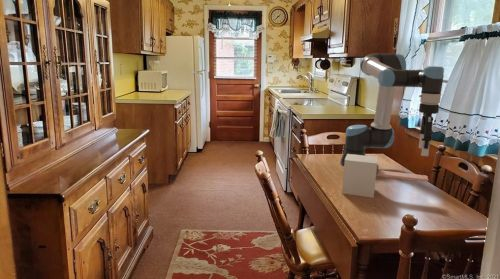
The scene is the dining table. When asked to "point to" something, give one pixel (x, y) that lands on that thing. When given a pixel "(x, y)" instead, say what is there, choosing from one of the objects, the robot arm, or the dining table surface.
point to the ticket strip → (402, 175)
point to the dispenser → (359, 175)
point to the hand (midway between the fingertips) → (423, 152)
